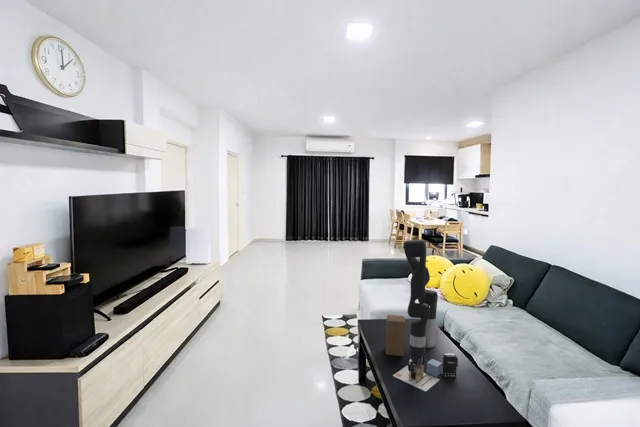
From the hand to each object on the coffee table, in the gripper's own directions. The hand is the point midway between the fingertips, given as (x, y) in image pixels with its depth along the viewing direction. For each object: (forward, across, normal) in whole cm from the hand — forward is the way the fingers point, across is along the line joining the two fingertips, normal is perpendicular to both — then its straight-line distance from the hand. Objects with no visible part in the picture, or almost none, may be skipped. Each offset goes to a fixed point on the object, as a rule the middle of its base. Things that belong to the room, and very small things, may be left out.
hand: (416, 376), depth 170 cm
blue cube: (+1, -11, +4) cm, 12 cm away
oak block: (+1, 0, 0) cm, 1 cm away
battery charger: (+1, -13, +11) cm, 17 cm away
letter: (+1, 0, 0) cm, 1 cm away
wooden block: (+1, -15, -22) cm, 27 cm away
